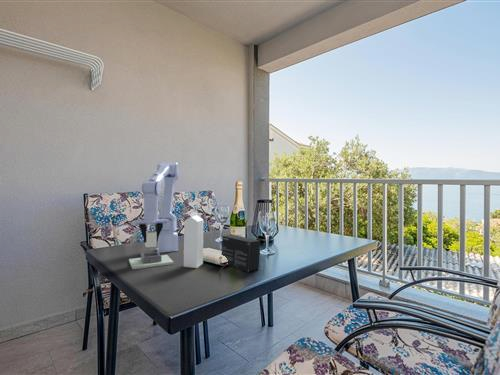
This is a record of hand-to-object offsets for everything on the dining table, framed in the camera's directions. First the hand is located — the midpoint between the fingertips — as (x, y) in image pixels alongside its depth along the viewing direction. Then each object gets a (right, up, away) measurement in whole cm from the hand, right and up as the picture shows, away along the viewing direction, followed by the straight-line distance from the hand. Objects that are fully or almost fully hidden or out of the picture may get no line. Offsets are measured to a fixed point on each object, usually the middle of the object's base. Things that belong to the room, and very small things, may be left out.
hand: (150, 241), depth 118 cm
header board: (0, -9, 0) cm, 9 cm away
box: (+38, -10, -2) cm, 39 cm away
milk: (+19, -10, -2) cm, 21 cm away
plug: (0, -2, 0) cm, 2 cm away
